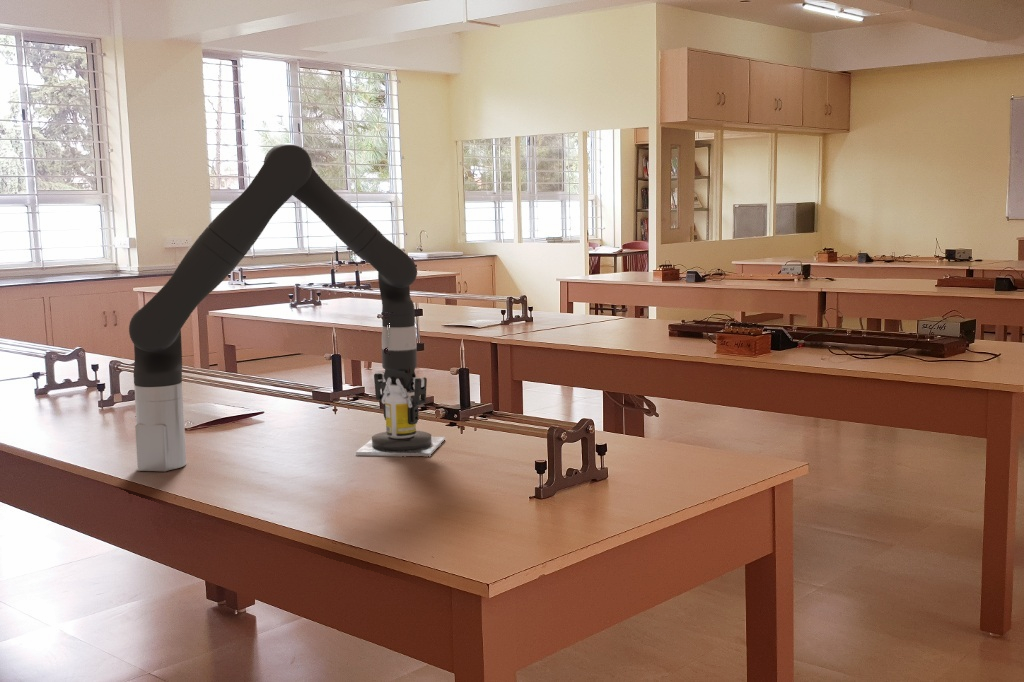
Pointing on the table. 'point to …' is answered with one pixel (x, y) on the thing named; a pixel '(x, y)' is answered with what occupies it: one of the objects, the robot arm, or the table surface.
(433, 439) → the stand
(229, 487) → the table surface
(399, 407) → the pill bottle
